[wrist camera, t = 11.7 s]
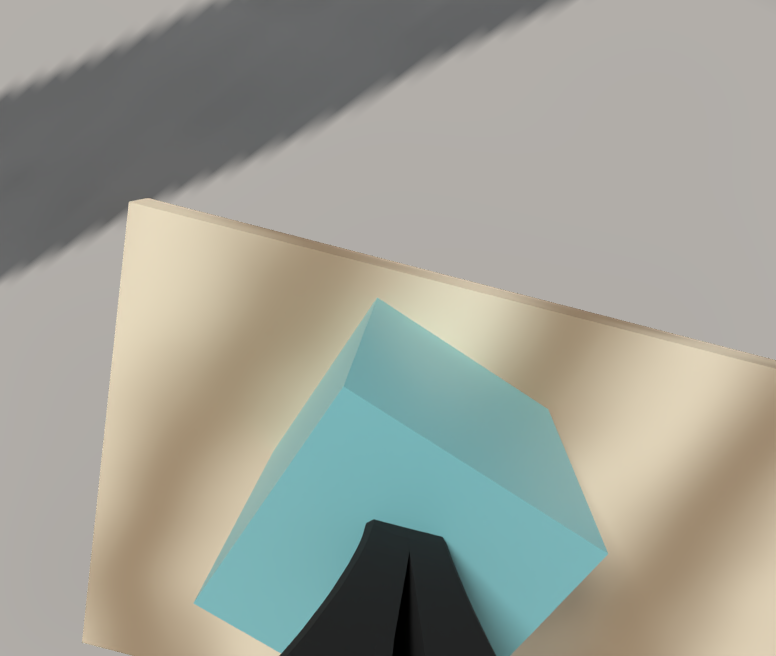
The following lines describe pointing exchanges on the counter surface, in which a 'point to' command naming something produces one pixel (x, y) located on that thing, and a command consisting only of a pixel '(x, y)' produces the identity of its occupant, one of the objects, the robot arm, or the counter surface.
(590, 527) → the teal foam cube
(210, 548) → the board
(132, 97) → the counter surface
